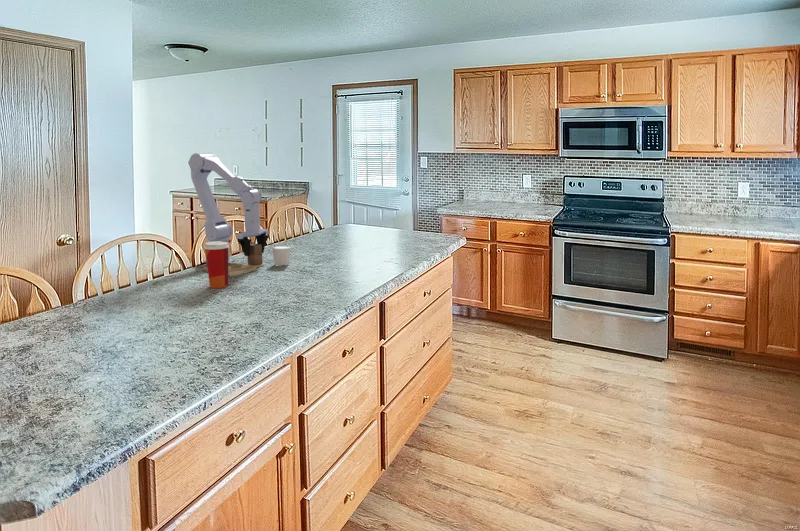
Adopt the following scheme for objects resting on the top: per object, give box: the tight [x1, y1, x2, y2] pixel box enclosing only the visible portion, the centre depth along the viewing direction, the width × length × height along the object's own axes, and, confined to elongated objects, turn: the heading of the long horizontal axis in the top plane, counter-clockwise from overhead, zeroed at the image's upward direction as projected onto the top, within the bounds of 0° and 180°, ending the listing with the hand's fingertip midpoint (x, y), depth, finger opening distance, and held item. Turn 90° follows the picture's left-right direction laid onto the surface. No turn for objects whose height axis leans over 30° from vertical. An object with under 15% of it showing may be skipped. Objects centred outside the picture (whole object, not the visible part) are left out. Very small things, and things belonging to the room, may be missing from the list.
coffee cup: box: [203, 241, 230, 289], centre depth 193 cm, size 8×8×15 cm
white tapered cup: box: [272, 245, 291, 267], centre depth 229 cm, size 7×7×7 cm
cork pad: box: [243, 262, 266, 268], centre depth 228 cm, size 8×8×1 cm
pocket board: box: [202, 261, 258, 277], centre depth 218 cm, size 16×12×2 cm
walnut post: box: [247, 243, 264, 266], centre depth 227 cm, size 4×4×8 cm
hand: (254, 254), depth 227 cm, fingers open, 7 cm apart
